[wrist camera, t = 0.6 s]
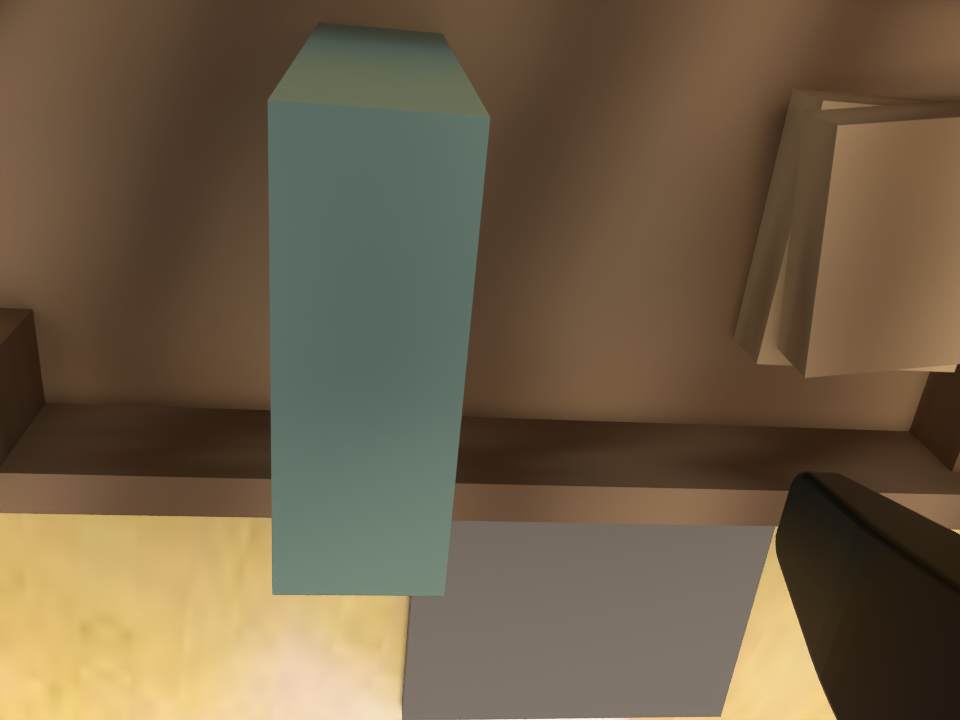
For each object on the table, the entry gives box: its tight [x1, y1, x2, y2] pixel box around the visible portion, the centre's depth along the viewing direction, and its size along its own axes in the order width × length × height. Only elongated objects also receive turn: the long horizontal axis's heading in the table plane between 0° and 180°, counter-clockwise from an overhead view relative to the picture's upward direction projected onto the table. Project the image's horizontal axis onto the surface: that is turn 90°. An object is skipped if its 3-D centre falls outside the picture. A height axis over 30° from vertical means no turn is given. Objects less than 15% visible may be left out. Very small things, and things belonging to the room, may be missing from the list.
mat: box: [402, 521, 775, 720], centre depth 26 cm, size 10×9×1 cm
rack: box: [0, 0, 960, 529], centre depth 18 cm, size 24×13×6 cm, turn 85°
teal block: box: [268, 22, 490, 596], centre depth 16 cm, size 2×7×9 cm, turn 175°
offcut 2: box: [777, 100, 960, 378], centre depth 19 cm, size 4×5×2 cm
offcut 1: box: [734, 89, 957, 372], centre depth 20 cm, size 5×6×2 cm
